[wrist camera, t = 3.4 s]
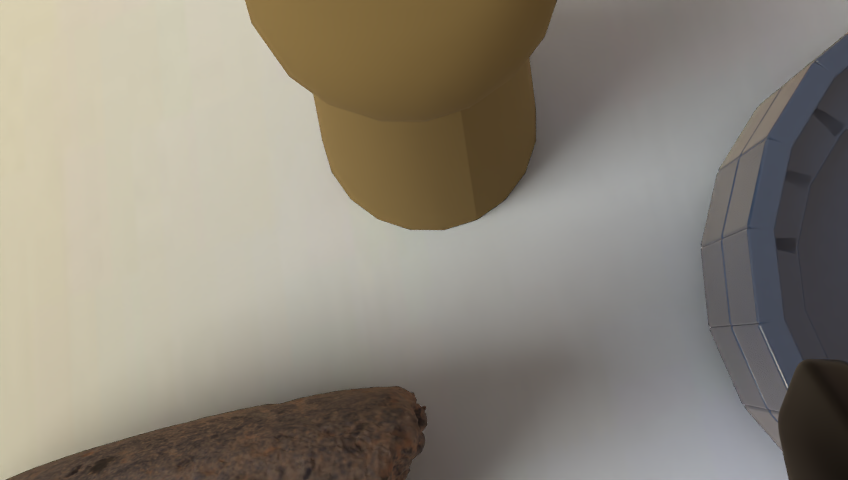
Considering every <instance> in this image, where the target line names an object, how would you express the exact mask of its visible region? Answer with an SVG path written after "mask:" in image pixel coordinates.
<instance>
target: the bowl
mask: <svg viewBox="0 0 848 480" xmlns="http://www.w3.org/2000/svg"><path fill="white" fill-rule="evenodd" d="M701 247H702V248H701V256H702V266H703V276H704V286H705V295H706V305H707V315H708V324H709V327H711V328H710V332H711V334H712V336H713V339H714V341H715V343H716V345H717V348H718V350H719V352H720V355H721V357H722V359H723V361H724V364H725V366H726V368H727V371H728V373H729V375H730V377H731V380H732V382H733V384H734V387H735V389H736V391H737V393H738V396H739V398H740V400H741V403H742V404H744V405H745V408H746V410H747V411H748V412H749V413H750V414H751V415H752V417H753V418H754V419H755V420H756V421H757V422H758V424H759V425H760V426H761V427H762V428H763V429H764V430H765V432H766V433H767V434H768V435H769V436H770V437H771V439H772V440H773V441H774V442H775V443H776V444H777V446H778V447H779V448H780V449H781V450H782V446H781V442H780V437H779V432H778V416H779V411H780V408H781V405H782V403H783V400H784V398H785V395H786V392H787V390H788V387H789V385H790V382H791V380H792V377H793V374H794V372H795V369H796V368H797V366H798V364H799V363H800V362H802V361H803V360H807V359H829V360H842V361H845V362H847V363H848V33H846V34H845V35H844V36H843V37H842V38H840V39H839V40H838V41H837V42H835V43H834V44H833V45H832V46H831V47H829V48H828V49H827V50H826V51H824V52H823V53H822V54H821V55H820V56H818V57H817V58H816V59H815V60H813V61H812V62H811V63H810V64H809V65H807V66H806V67H805V68H804V69H803V70H801V71H800V72H799V73H798V74H796V75H795V76H794V77H793V78H792V79H790V80H789V81H788V82H787V83H785V84H784V85H783V86H782V87H781V88H779V89H778V90H777V91H776V92H775V93H773V94H772V95H771V96H770V97H768V98H767V99H766V100H765V101H764V102H762V103H761V104H760V105H759V107H757V108H756V110H755V111H754V113H753V115H752V116H751V118H750V120H749V121H748V123H747V124H746V126H745V128H744V129H743V131H742V132H741V134H740V136H739V137H738V139H737V141H736V142H735V144H734V145H733V147H732V149H731V150H730V152H729V153H728V155H727V157H726V158H725V160H724V162H723V163H722V165H721V166H720V168H719V172H718V173H717V176H716V180H715V185H714V189H713V194H712V198H711V202H710V207H709V211H708V216H707V220H706V225H705V229H704V233H703V238H702V242H701Z"/></svg>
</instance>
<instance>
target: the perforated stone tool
mask: <svg viewBox="0 0 848 480" xmlns="http://www.w3.org/2000/svg"><path fill="white" fill-rule="evenodd" d="M425 409H426V406H423V407H421V406H420V405H419V404H417V403H416V397H415V395H414V393H412V392H409V391H407V390H405V389H403V388H401V387H399V386H392V387H370V388H360V389H350V390H341V391H334V392H329V393H324V394H318V395H313V396H308V397H302V398H299V399H295V400H292V401H289V402H285V403H281V404H266V405H261V406H255V407H250V408H245V409H240V410H236V411H231V412H227V413H223V414H218V415H214V416H209V417H204V418H201V419H197V420H194V421H190V422H187V423H182V424H178V425H174V426H170V427H166V428H162V429H158V430H155V431H151V432H148V433H144V434H140V435H137V436H133V437H130V438H126V439H123V440H120V441H116V442H113V443H109V444H106V445H103V446H99V447H95V448H92V449H89V450H85V451H82V452H79V453H76V454H73V455H70V456H67V457H64V458H61V459H58V460H56V461H52V462H50V463H47V464H44V465H41V466H38V467H35V468H33V469H31V470H28V471H25V472H23V473H21V474H18V475H16V476H13V477H11V478H8V479H6V480H405V479H406V478H407V474H408V473H409V471H410V469H409V467H410V465H411V463H412V460H413V459H414V458H415V457H416V456H417V455H419V454H420V453H421V451H422V449H423V447H424V444H425V437H424V434H423V433H422V431H423V430H424V429H425V428H426V426H427V417H426V413H425Z"/></svg>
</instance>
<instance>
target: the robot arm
mask: <svg viewBox="0 0 848 480" xmlns="http://www.w3.org/2000/svg"><path fill="white" fill-rule="evenodd" d="M778 432H779V437H780V442H781V446H782V451H783V455H784V460H785V465H786V469H787V474H788V478H789V480H848V363H847V362H845V361H842V360H829V359H807V360H803V361H802V362H800V363H799V364H798V366H797V368H796V369H795V372H794V374H793V377H792V380H791V382H790V385H789V387H788V390H787V392H786V395H785V398H784V400H783V403H782V405H781V408H780V411H779V416H778Z"/></svg>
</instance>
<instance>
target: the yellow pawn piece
mask: <svg viewBox="0 0 848 480" xmlns="http://www.w3.org/2000/svg"><path fill="white" fill-rule="evenodd" d="M245 2H246V5H247V9H248V12H249V16H250V19H251V23H252V24H253V26H254V27H255V29H256V30H257V32H258V33H259V34H260V36H261V37H262V39H263V40H264V41H265V43H266V44H267V46H268V47H269V49H270V50H271V51H272V53H273V54H274V56H275V57H276V58H277V60H278V61H279V63H280V64H281V65H282V67H283V68H284V70H285V71H286V73H287V74H288V75H289V77H291V78H292V79H294V80H295V81H296V82H298V83H299V84H300V85H302V86H303V87H305V88H306V89H307V90H309V91H310V92H312V93H313V95H314V100H315V105H316V110H317V115H318V120H319V125H320V131H321V136H322V141H323V144H324V147H325V151H326V154H327V158H328V161H329V164H330V168H331V171H332V173H333V174H334V176H335V177H336V179H337V180H338V182H339V183H340V184H341V186H342V187H343V189H344V190H345V192H346V193H347V194H348V196H349V197H350V199H351V200H353V201H354V202H355V203H357V204H358V205H359V206H361V207H362V208H364V209H365V210H366V211H368V212H369V213H370V214H372V215H373V216H374V217H376V218H377V219H379V220H382V221H385V222H388V223H391V224H394V225H397V226H400V227H403V228H406V229H409V230H445V229H449V228H452V227H455V226H458V225H461V224H465V223H468V222H471V221H474V220H477V219H479V218H480V217H481V216H483V215H484V214H486V213H487V212H489V211H490V210H491V209H493V208H494V207H496V206H497V205H498V204H500V203H501V202H503V201H504V200H505V199H506V198H507V197H508V195H509V194H510V193H511V191H512V190H513V189H514V187H515V186H516V184H517V183H518V182H519V180H520V179H521V178H522V176H523V175H524V174H525V172H526V169H527V166H528V163H529V160H530V157H531V154H532V151H533V148H534V145H535V142H536V107H535V99H534V91H533V83H532V75H531V67H530V59H529V57H530V55H531V54H532V53H533V51H534V50H535V49H536V47H537V46H538V45H539V44H540V42H541V41H542V40H543V38H544V37H545V35H546V32H547V29H548V26H549V23H550V20H551V17H552V14H553V11H554V8H555V5H556V2H557V0H245Z"/></svg>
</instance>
